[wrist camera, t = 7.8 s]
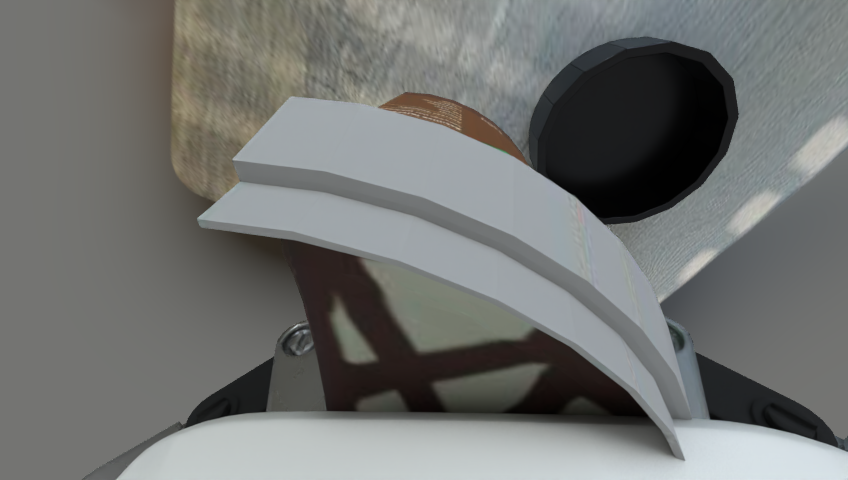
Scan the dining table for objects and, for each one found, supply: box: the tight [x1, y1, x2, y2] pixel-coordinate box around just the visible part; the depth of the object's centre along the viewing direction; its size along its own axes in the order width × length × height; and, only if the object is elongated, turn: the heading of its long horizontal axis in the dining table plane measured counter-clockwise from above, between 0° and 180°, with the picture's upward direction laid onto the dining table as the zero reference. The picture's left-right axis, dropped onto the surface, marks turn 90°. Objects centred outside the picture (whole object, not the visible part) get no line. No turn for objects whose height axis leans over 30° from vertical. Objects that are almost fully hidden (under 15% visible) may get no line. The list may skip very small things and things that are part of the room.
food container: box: [197, 92, 692, 461], centre depth 10 cm, size 12×6×10 cm, turn 0°
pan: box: [529, 37, 739, 225], centre depth 28 cm, size 21×12×4 cm, turn 167°
